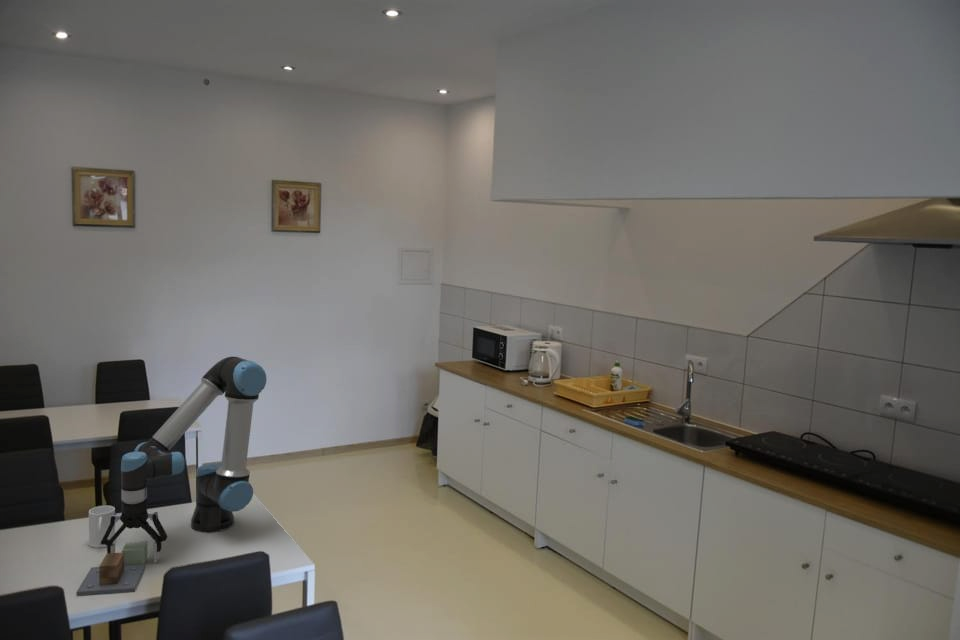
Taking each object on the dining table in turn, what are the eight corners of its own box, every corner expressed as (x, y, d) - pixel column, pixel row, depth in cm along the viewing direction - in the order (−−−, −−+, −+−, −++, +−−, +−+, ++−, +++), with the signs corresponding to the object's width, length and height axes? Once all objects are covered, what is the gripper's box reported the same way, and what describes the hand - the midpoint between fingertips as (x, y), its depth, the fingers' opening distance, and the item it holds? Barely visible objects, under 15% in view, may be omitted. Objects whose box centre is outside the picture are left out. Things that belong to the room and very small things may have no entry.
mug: (111, 551, 243) (111, 517, 241) (83, 553, 240) (82, 519, 239) (118, 536, 254) (117, 504, 253) (91, 538, 251) (90, 505, 250)
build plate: (145, 567, 232) (145, 563, 232) (134, 591, 217) (134, 587, 217) (91, 570, 228) (91, 566, 228) (76, 595, 213) (76, 591, 213)
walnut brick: (124, 570, 227) (124, 552, 227) (117, 583, 219) (117, 565, 218) (107, 571, 226) (106, 553, 225) (99, 585, 218) (99, 566, 217)
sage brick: (147, 558, 239) (147, 541, 238) (143, 567, 233) (143, 549, 232) (126, 559, 238) (126, 542, 237) (121, 568, 231) (121, 550, 231)
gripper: (176, 494, 239) (176, 554, 242) (96, 497, 233) (96, 559, 236) (172, 502, 232) (172, 565, 235) (89, 505, 226) (90, 570, 228)
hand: (134, 562), depth 235 cm, fingers open, 12 cm apart
